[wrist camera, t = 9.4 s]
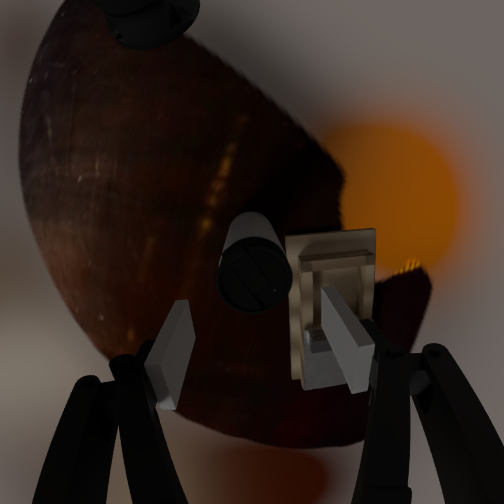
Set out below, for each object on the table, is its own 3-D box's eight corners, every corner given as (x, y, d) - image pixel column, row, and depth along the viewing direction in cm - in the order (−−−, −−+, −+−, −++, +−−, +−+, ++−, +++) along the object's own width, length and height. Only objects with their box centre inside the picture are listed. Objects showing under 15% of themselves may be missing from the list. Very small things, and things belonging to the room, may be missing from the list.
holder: (285, 235, 42) (289, 241, 38) (373, 227, 42) (384, 233, 38) (291, 376, 49) (294, 390, 45) (363, 364, 49) (370, 376, 45)
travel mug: (255, 200, 40) (264, 225, 21) (280, 238, 42) (309, 293, 23) (219, 225, 41) (196, 270, 22) (244, 261, 43) (244, 332, 23)
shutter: (303, 328, 41) (308, 342, 37) (371, 318, 41) (381, 330, 37) (303, 387, 44) (307, 402, 41) (364, 376, 44) (371, 389, 41)
